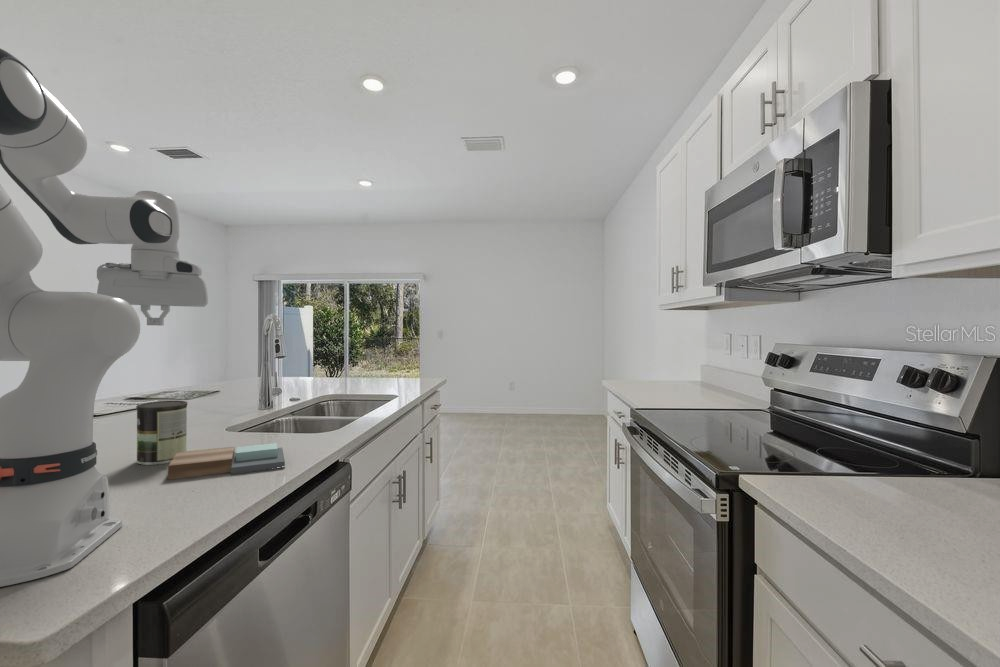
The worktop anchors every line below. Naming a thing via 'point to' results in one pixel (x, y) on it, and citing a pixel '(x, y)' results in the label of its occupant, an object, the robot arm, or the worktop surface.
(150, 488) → the worktop surface
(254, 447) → the block
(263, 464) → the grey flat slab
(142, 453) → the coffee can
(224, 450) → the brown square plate
